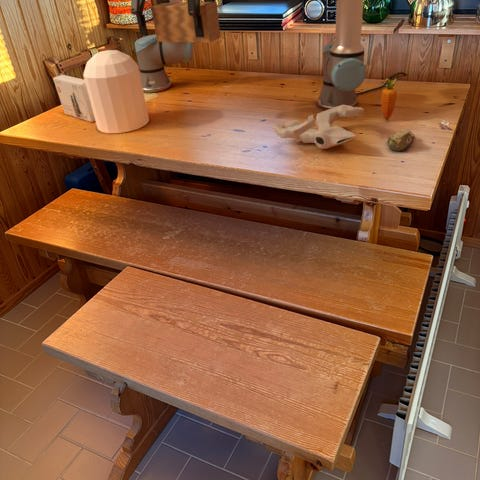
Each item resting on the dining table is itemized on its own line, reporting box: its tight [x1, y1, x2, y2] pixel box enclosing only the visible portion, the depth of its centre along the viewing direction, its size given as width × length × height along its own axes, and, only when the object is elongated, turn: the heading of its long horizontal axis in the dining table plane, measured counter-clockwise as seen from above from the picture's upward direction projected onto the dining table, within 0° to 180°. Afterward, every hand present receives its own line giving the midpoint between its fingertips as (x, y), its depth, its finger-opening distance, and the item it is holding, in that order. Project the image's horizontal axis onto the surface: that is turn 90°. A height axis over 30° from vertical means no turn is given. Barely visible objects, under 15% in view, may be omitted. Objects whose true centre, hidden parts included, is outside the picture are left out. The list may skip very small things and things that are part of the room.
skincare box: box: [52, 74, 96, 123], centre depth 193 cm, size 21×6×16 cm, turn 49°
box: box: [150, 1, 221, 44], centre depth 157 cm, size 22×7×11 cm, turn 64°
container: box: [82, 49, 150, 134], centre depth 178 cm, size 21×21×28 cm
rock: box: [387, 129, 416, 152], centre depth 146 cm, size 11×6×10 cm
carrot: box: [380, 78, 398, 122], centre depth 161 cm, size 5×5×15 cm
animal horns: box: [273, 105, 365, 150], centre depth 153 cm, size 28×26×12 cm
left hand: (155, 31), depth 164 cm, fingers open, 13 cm apart
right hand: (205, 34), depth 157 cm, fingers closed on box, 7 cm apart
